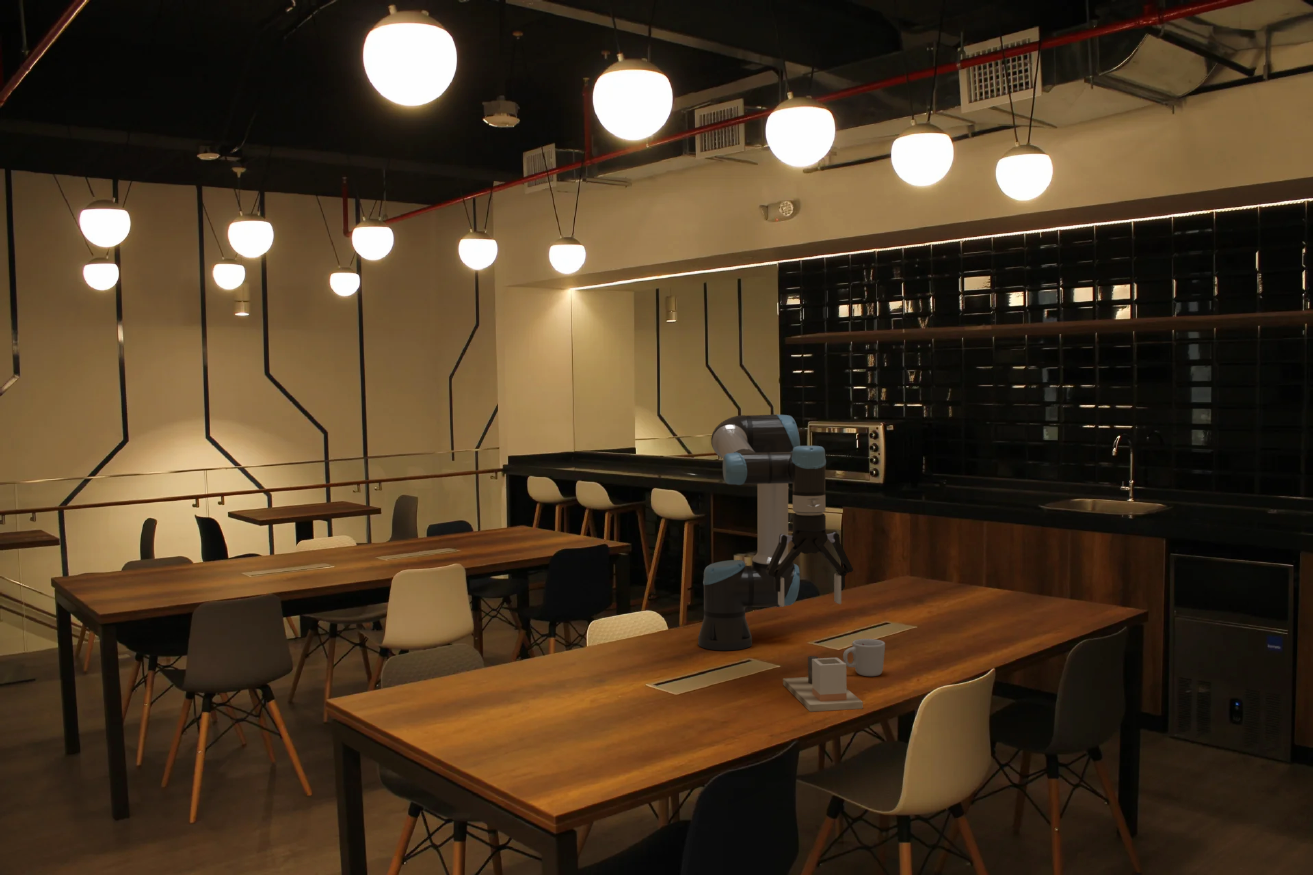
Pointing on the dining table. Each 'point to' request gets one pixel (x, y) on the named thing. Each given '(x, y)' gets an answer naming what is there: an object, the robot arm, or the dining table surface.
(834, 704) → the pin board
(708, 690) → the dining table surface
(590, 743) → the dining table surface
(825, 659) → the sleeve
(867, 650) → the cup
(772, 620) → the dining table surface
